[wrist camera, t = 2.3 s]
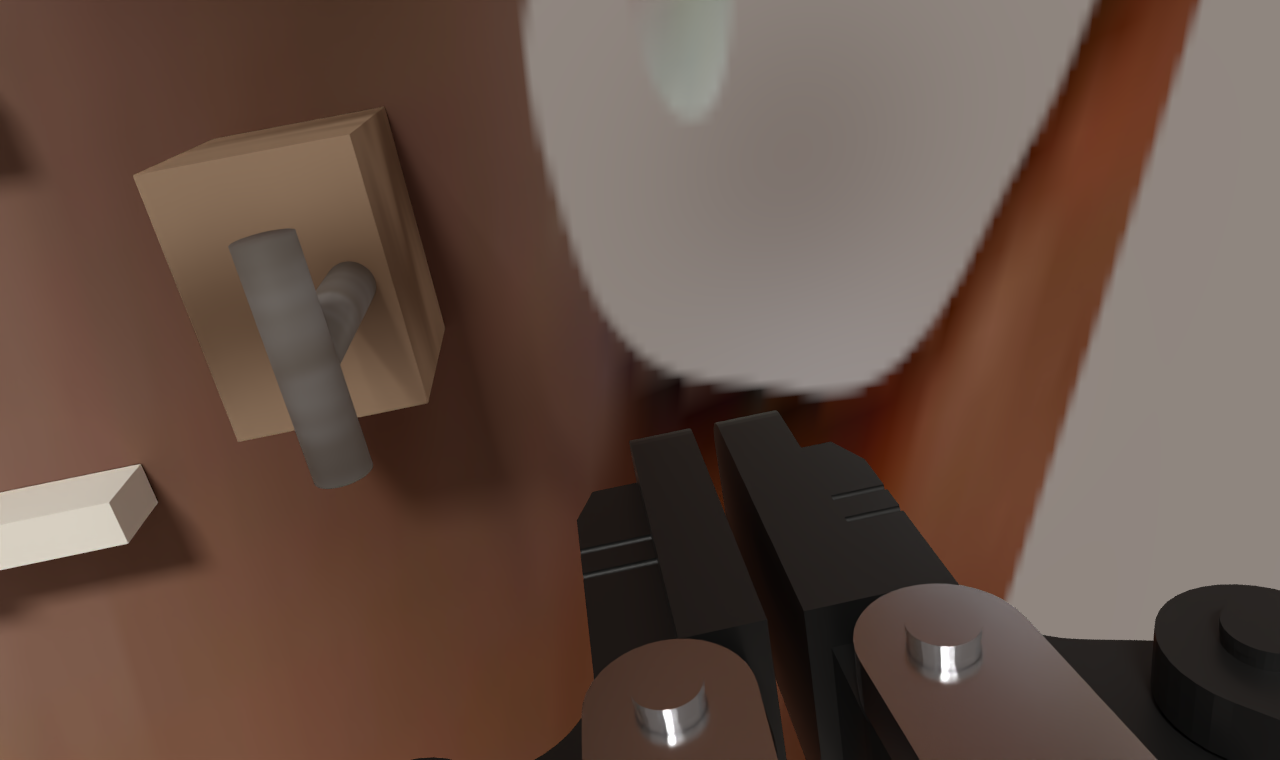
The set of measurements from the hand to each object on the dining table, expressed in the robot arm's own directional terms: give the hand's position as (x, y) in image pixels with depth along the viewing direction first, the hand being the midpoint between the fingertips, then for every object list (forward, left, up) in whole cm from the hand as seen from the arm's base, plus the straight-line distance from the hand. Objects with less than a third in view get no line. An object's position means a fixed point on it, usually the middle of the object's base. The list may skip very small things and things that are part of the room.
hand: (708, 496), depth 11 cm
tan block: (0, -8, -19) cm, 21 cm away
